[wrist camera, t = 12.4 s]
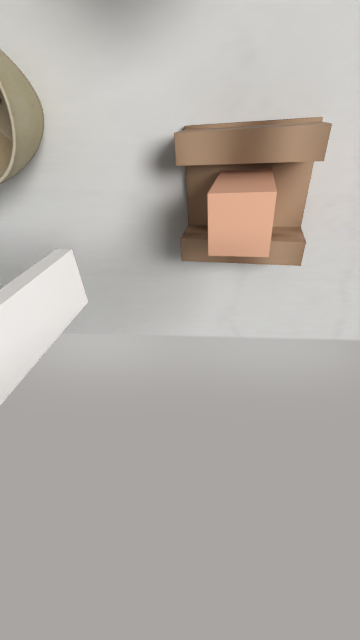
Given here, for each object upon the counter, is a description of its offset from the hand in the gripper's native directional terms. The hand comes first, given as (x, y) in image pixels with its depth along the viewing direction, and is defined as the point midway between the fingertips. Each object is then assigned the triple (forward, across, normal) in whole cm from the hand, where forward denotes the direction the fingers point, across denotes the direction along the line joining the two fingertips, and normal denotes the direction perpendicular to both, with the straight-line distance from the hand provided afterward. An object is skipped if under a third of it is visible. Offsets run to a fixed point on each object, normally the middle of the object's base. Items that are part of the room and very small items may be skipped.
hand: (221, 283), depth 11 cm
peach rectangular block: (+16, +1, 0) cm, 16 cm away
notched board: (+16, +1, 0) cm, 16 cm away
